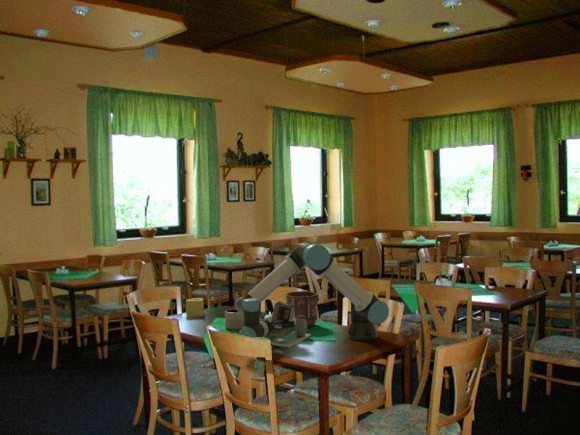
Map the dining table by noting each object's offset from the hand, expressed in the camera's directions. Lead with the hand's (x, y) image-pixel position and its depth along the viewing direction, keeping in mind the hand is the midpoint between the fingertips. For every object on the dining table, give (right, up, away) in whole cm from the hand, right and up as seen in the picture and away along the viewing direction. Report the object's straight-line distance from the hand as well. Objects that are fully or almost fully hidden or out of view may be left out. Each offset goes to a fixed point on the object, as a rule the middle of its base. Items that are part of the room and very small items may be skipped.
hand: (283, 319), depth 310 cm
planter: (-27, -10, +31) cm, 42 cm away
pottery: (+10, -9, +33) cm, 36 cm away
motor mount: (+1, -11, +3) cm, 11 cm away
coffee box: (-2, -7, -3) cm, 8 cm away
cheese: (-54, -9, +65) cm, 85 cm away
